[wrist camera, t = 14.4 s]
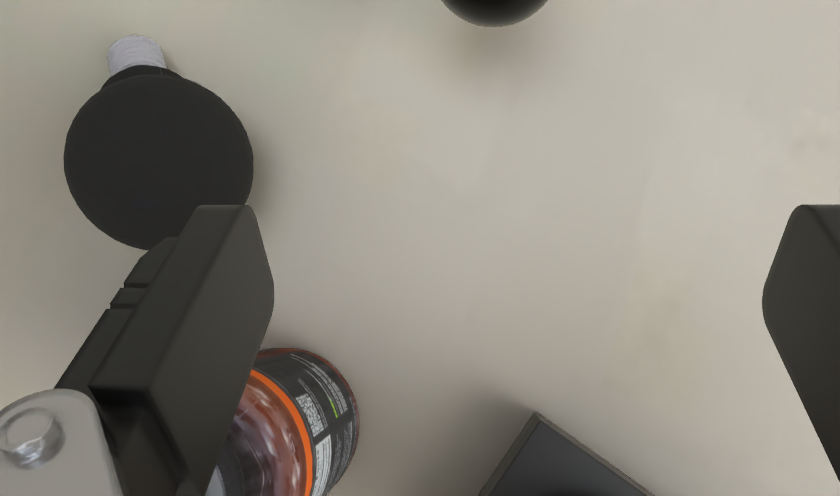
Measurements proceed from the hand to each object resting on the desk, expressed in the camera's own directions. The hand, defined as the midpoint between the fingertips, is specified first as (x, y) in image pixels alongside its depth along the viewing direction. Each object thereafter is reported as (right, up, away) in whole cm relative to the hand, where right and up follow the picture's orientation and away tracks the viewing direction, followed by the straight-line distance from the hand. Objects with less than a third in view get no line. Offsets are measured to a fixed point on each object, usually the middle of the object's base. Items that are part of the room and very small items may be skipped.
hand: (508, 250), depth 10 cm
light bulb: (-11, +4, +17) cm, 21 cm away
